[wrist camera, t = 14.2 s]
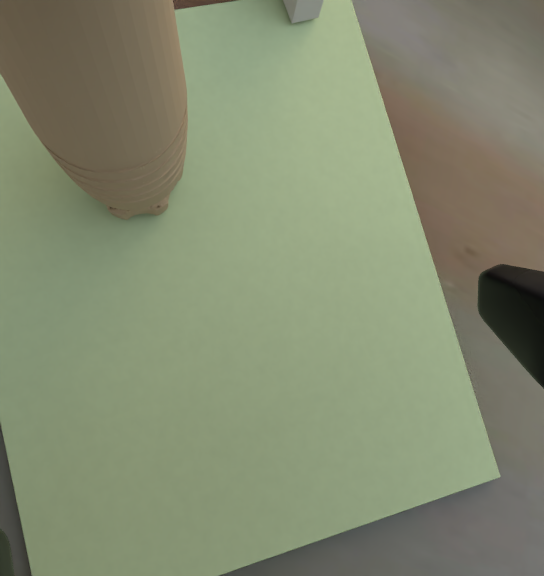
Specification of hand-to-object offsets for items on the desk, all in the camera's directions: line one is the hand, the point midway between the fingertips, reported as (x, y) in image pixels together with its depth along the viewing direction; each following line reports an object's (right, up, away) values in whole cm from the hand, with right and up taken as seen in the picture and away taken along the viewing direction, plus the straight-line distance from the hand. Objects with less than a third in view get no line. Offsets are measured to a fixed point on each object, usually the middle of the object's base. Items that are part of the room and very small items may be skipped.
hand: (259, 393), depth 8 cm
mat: (-2, +3, +10) cm, 10 cm away
